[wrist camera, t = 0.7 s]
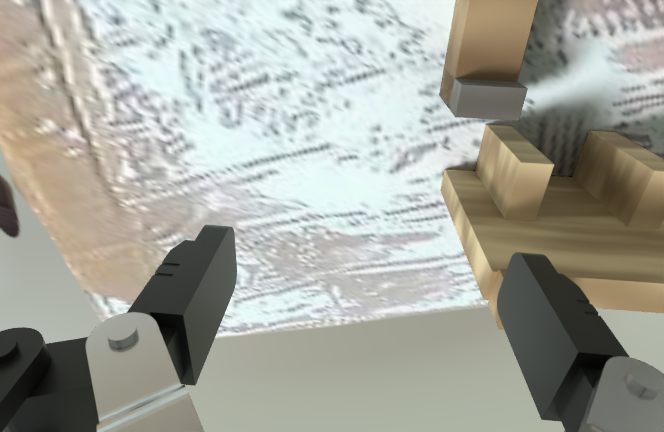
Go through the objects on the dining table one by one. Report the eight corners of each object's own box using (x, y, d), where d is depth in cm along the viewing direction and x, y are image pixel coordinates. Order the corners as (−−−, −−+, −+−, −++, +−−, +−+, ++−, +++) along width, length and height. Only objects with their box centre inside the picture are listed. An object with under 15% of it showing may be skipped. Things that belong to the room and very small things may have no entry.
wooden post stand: (454, 122, 32) (526, 226, 18) (648, 133, 31) (878, 250, 17) (440, 192, 35) (493, 328, 21) (616, 204, 34) (790, 351, 20)
